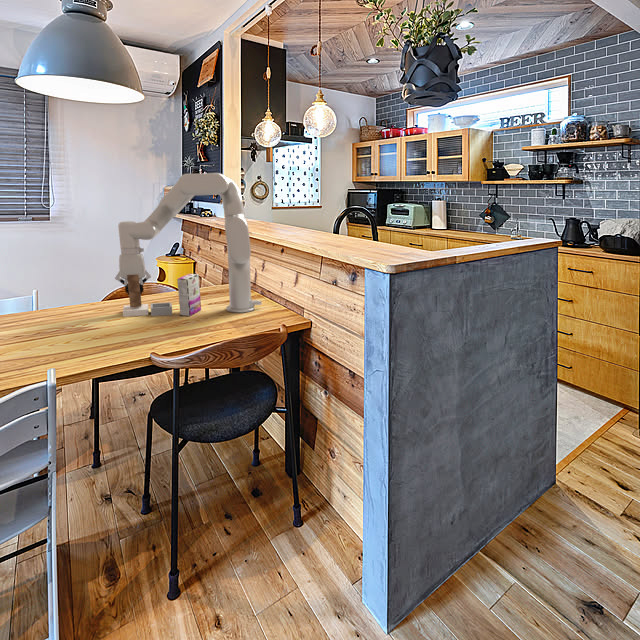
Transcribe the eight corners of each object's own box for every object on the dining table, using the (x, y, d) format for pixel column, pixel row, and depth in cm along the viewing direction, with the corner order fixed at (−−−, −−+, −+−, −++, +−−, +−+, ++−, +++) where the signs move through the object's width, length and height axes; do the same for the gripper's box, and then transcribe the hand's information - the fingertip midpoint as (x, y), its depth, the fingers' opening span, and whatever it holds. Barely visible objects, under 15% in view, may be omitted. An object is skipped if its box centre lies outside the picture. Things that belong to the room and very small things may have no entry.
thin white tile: (148, 309, 209) (148, 304, 209) (148, 315, 200) (147, 309, 200) (124, 310, 206) (123, 305, 206) (123, 316, 197) (122, 311, 196)
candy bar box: (191, 309, 211) (189, 273, 206) (201, 310, 210) (199, 274, 205) (179, 315, 200) (176, 278, 196) (190, 316, 199) (187, 278, 195)
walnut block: (141, 304, 205) (138, 272, 201) (141, 306, 201) (138, 274, 197) (130, 304, 204) (127, 273, 200) (130, 307, 200) (126, 274, 196)
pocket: (171, 309, 209) (171, 302, 208) (172, 314, 201) (171, 307, 200) (151, 311, 206) (150, 303, 206) (151, 316, 199) (150, 308, 198)
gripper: (151, 249, 202) (155, 291, 207) (109, 251, 197) (114, 293, 202) (151, 252, 195) (155, 294, 200) (108, 253, 190) (113, 297, 195)
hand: (134, 293), depth 201 cm, fingers closed on walnut block, 4 cm apart
